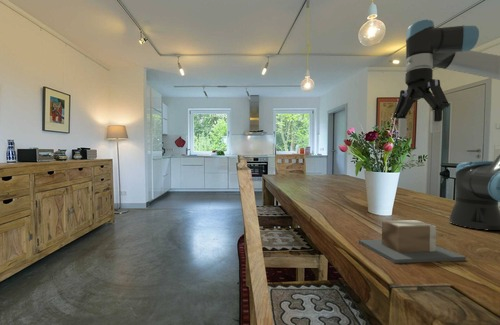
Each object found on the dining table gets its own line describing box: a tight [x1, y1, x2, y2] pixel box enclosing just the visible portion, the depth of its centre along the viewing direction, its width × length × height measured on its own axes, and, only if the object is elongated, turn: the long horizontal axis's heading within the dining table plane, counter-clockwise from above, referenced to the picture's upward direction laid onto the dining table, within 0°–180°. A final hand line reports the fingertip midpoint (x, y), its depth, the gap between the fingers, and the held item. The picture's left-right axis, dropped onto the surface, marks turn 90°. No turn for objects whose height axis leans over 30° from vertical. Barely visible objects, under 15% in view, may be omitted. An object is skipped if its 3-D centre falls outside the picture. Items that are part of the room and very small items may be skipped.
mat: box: [358, 239, 467, 264], centre depth 64 cm, size 18×14×1 cm
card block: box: [381, 219, 437, 253], centre depth 64 cm, size 6×10×6 cm, turn 98°
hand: (417, 135), depth 85 cm, fingers open, 13 cm apart
